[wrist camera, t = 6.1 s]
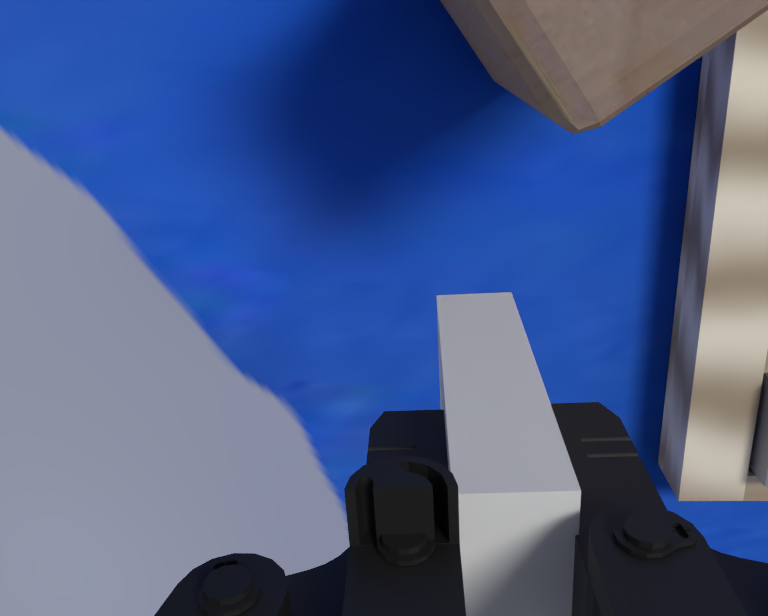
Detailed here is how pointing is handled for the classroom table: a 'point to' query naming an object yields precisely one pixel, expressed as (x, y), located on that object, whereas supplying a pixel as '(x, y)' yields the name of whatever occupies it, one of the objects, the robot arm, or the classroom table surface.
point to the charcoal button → (761, 437)
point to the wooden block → (593, 48)
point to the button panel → (722, 282)
